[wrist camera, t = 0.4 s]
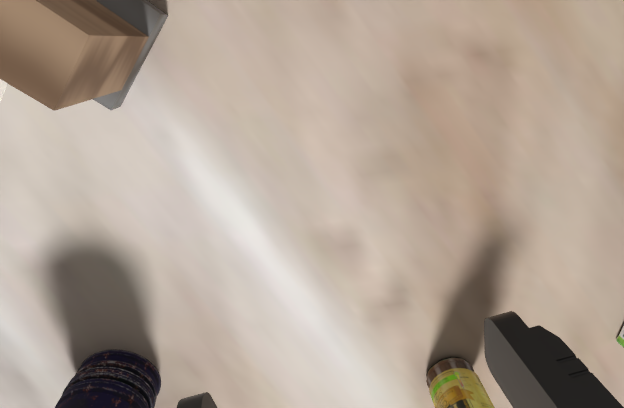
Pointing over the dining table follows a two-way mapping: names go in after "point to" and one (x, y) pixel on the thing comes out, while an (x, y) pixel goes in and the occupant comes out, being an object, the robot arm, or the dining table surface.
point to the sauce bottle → (456, 385)
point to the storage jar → (113, 382)
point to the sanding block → (76, 48)
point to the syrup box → (621, 337)
